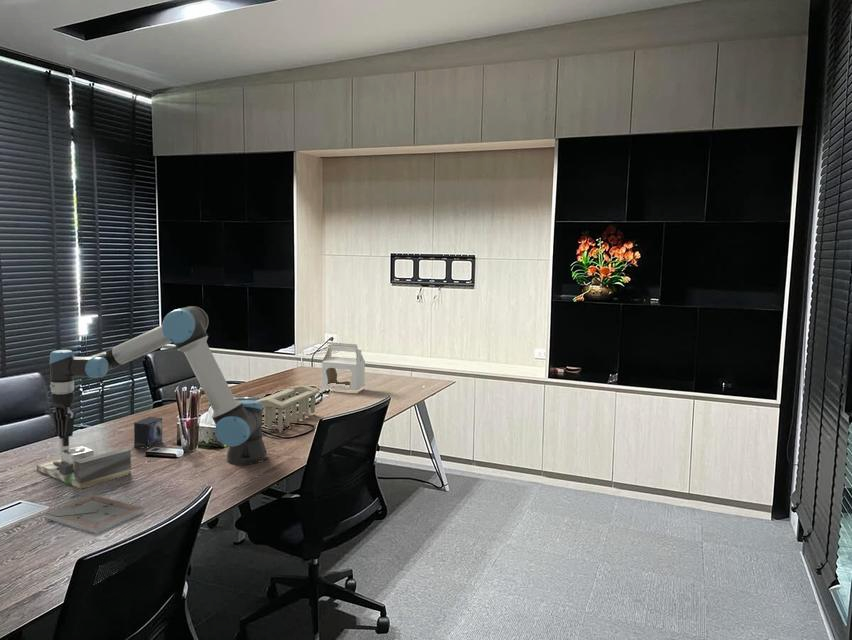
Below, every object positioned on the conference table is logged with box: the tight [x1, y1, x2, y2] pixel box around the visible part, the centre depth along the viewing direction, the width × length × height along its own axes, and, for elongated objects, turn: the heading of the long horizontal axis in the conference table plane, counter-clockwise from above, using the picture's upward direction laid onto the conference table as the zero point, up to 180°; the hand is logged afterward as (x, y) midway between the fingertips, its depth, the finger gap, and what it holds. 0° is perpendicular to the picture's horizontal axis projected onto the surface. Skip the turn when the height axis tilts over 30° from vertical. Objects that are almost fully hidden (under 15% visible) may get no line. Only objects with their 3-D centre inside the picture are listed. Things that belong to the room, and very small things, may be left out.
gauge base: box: [36, 447, 132, 490], centre depth 229 cm, size 30×18×9 cm, turn 57°
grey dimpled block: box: [57, 445, 95, 470], centre depth 229 cm, size 8×13×5 cm, turn 147°
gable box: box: [321, 342, 366, 390], centre depth 371 cm, size 22×13×28 cm, turn 75°
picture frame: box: [45, 494, 144, 534], centre depth 194 cm, size 16×2×22 cm
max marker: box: [59, 463, 72, 475], centre depth 221 cm, size 4×2×3 cm, turn 57°
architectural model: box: [256, 384, 320, 431], centre depth 302 cm, size 35×15×15 cm, turn 162°
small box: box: [133, 416, 163, 449], centre depth 262 cm, size 11×6×10 cm, turn 168°
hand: (64, 453), depth 236 cm, fingers closed
